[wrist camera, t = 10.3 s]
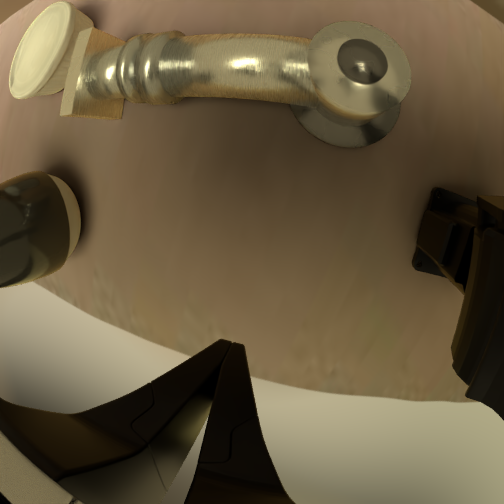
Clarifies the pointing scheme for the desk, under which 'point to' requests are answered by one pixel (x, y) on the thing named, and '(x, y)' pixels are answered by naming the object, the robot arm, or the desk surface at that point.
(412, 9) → the desk surface
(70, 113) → the metal pipe fitting
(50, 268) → the black egg-shaped dome
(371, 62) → the elbow
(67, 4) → the ramekin
